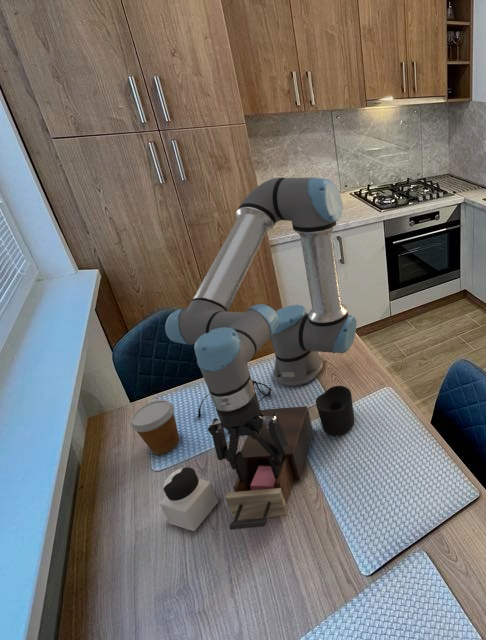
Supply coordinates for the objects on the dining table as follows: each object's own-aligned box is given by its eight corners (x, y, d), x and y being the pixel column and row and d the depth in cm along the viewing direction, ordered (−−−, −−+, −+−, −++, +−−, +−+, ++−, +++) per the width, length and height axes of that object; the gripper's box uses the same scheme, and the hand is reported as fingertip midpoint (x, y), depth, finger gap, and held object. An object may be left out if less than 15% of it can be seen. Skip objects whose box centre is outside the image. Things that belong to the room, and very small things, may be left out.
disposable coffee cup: (182, 452, 107) (168, 419, 102) (140, 465, 104) (123, 432, 99) (189, 425, 115) (175, 394, 110) (150, 436, 112) (134, 404, 107)
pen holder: (323, 414, 117) (317, 388, 113) (356, 409, 119) (351, 383, 114) (320, 441, 109) (314, 414, 105) (355, 435, 110) (351, 408, 106)
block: (260, 480, 96) (258, 465, 94) (282, 480, 97) (280, 466, 94) (252, 500, 92) (250, 485, 90) (274, 501, 92) (273, 486, 90)
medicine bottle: (219, 501, 94) (204, 466, 89) (194, 532, 88) (177, 497, 83) (195, 494, 96) (179, 459, 91) (169, 523, 90) (150, 488, 85)
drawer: (280, 538, 86) (272, 515, 82) (224, 544, 85) (214, 521, 82) (301, 462, 102) (295, 440, 99) (255, 466, 102) (248, 444, 98)
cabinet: (300, 480, 99) (292, 453, 95) (247, 485, 98) (237, 458, 94) (313, 431, 112) (307, 406, 108) (267, 435, 111) (259, 409, 107)
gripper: (175, 417, 78) (209, 494, 88) (279, 409, 79) (301, 486, 89) (194, 389, 84) (223, 464, 94) (290, 382, 86) (309, 456, 96)
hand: (261, 474), depth 92 cm, fingers open, 7 cm apart
